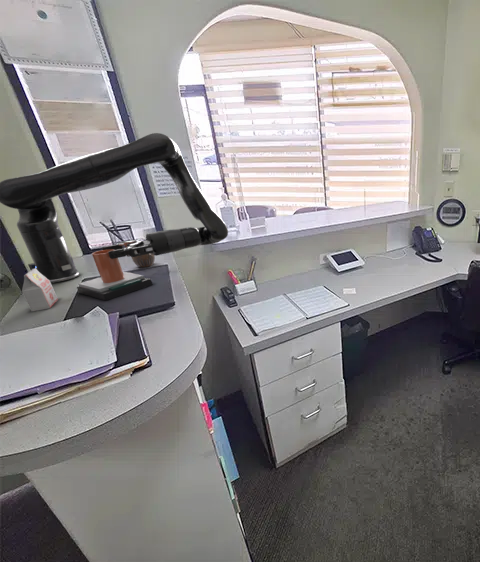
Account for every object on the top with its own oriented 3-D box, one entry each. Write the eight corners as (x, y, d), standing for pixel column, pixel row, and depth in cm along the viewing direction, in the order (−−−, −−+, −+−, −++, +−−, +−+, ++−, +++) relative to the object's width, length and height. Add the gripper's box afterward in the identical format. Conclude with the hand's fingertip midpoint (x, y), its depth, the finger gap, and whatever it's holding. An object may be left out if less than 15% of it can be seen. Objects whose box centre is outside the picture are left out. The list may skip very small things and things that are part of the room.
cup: (98, 281, 94) (87, 253, 91) (118, 275, 99) (108, 248, 96) (108, 283, 92) (97, 255, 89) (128, 277, 97) (118, 250, 93)
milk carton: (31, 311, 83) (14, 276, 79) (40, 302, 88) (25, 269, 85) (50, 307, 85) (34, 273, 81) (58, 299, 90) (43, 267, 86)
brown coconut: (145, 269, 114) (138, 246, 111) (130, 268, 116) (122, 245, 112) (161, 263, 121) (154, 241, 117) (146, 262, 122) (139, 241, 119)
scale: (78, 293, 94) (75, 283, 93) (125, 278, 105) (122, 270, 104) (105, 300, 88) (102, 291, 87) (152, 284, 99) (149, 275, 98)
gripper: (156, 228, 107) (96, 237, 96) (170, 233, 98) (106, 244, 87) (162, 249, 110) (104, 260, 98) (177, 255, 101) (116, 269, 90)
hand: (105, 253), depth 93 cm, fingers open, 8 cm apart
